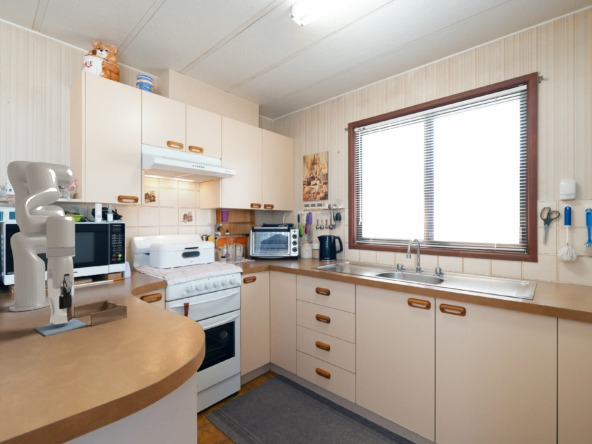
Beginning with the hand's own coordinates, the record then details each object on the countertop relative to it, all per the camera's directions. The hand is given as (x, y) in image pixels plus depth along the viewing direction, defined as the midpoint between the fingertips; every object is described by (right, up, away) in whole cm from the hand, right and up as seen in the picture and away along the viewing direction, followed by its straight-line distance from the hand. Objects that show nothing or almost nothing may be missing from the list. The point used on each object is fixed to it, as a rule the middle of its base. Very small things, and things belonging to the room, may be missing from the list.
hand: (61, 305), depth 96 cm
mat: (0, -7, 0) cm, 7 cm away
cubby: (+6, -7, +9) cm, 13 cm away
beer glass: (0, -5, 0) cm, 5 cm away
